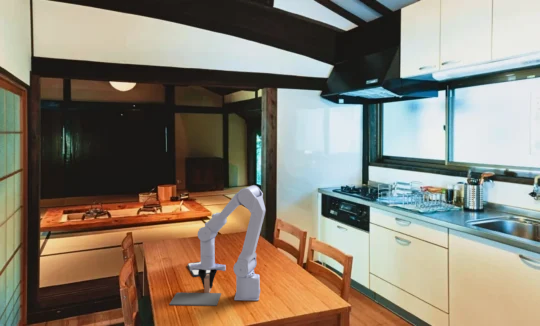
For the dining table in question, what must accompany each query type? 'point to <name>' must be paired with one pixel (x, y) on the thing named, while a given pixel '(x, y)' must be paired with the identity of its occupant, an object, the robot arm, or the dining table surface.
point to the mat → (196, 299)
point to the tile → (207, 284)
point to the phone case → (195, 272)
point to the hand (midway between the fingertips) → (208, 287)
